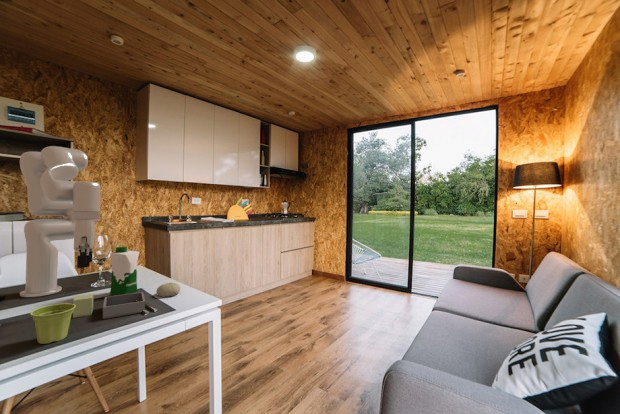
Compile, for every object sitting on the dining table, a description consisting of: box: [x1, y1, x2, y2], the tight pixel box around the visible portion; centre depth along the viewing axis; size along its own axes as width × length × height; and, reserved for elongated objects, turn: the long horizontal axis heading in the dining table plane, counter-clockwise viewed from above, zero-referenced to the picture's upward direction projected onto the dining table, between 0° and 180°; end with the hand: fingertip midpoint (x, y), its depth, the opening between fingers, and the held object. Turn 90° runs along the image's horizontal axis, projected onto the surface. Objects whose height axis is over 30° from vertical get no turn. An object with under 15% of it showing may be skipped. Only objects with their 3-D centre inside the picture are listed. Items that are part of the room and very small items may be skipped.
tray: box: [102, 291, 146, 320], centre depth 99 cm, size 12×12×4 cm
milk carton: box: [109, 246, 140, 296], centre depth 117 cm, size 9×9×20 cm
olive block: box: [72, 293, 94, 319], centre depth 94 cm, size 5×5×6 cm
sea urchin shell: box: [156, 282, 181, 298], centre depth 117 cm, size 9×8×8 cm
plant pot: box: [30, 302, 76, 345], centre depth 77 cm, size 9×9×9 cm
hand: (85, 264), depth 94 cm, fingers open, 9 cm apart
